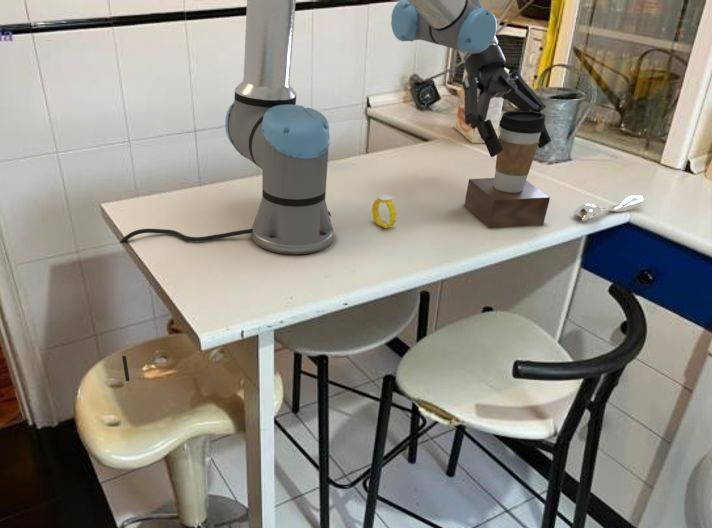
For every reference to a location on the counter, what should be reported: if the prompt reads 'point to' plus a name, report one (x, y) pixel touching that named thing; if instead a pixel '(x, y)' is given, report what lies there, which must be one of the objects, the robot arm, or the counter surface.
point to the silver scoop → (592, 210)
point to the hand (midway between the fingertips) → (521, 149)
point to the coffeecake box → (492, 115)
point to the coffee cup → (517, 148)
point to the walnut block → (506, 204)
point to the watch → (392, 210)
